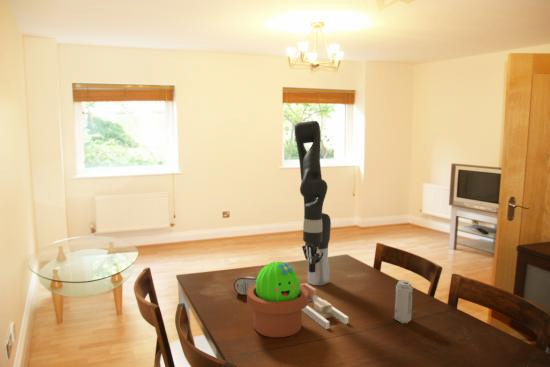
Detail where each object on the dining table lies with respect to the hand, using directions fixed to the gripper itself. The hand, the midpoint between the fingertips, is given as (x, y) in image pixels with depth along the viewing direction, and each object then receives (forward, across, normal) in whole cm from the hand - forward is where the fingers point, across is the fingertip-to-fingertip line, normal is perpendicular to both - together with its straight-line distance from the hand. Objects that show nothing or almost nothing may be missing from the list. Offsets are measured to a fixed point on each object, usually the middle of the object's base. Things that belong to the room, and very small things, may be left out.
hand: (311, 271), depth 173 cm
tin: (+16, +23, +17) cm, 32 cm away
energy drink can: (+15, -25, -26) cm, 39 cm away
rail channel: (+15, -3, 0) cm, 15 cm away
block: (+15, -8, 0) cm, 17 cm away
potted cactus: (+16, -9, +20) cm, 26 cm away
